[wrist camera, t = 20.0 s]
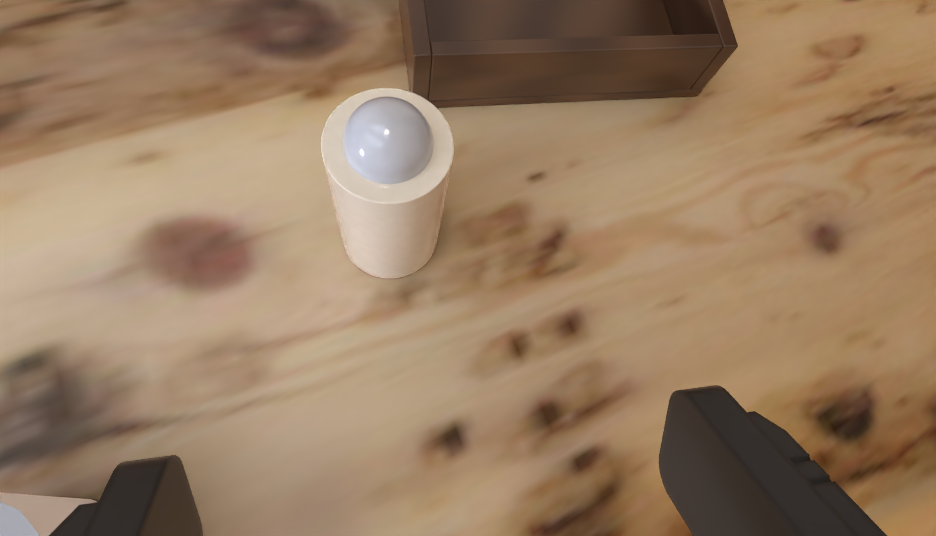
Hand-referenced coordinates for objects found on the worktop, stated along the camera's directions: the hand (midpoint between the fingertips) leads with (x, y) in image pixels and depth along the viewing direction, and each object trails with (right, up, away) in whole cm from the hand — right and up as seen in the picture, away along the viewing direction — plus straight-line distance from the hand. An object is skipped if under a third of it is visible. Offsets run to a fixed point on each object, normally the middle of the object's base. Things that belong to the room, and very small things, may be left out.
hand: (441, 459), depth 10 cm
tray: (+4, +19, +23) cm, 30 cm away
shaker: (-3, +5, +17) cm, 18 cm away
